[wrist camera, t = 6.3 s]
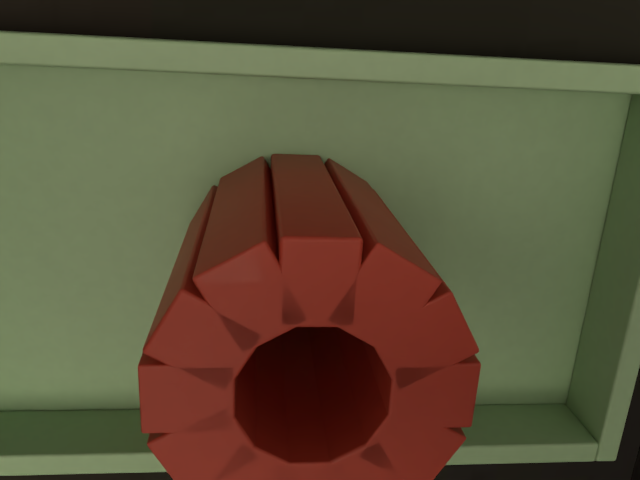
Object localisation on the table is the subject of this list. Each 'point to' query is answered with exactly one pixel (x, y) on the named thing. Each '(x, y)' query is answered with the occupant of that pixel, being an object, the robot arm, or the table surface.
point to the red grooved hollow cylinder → (304, 337)
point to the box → (328, 142)
